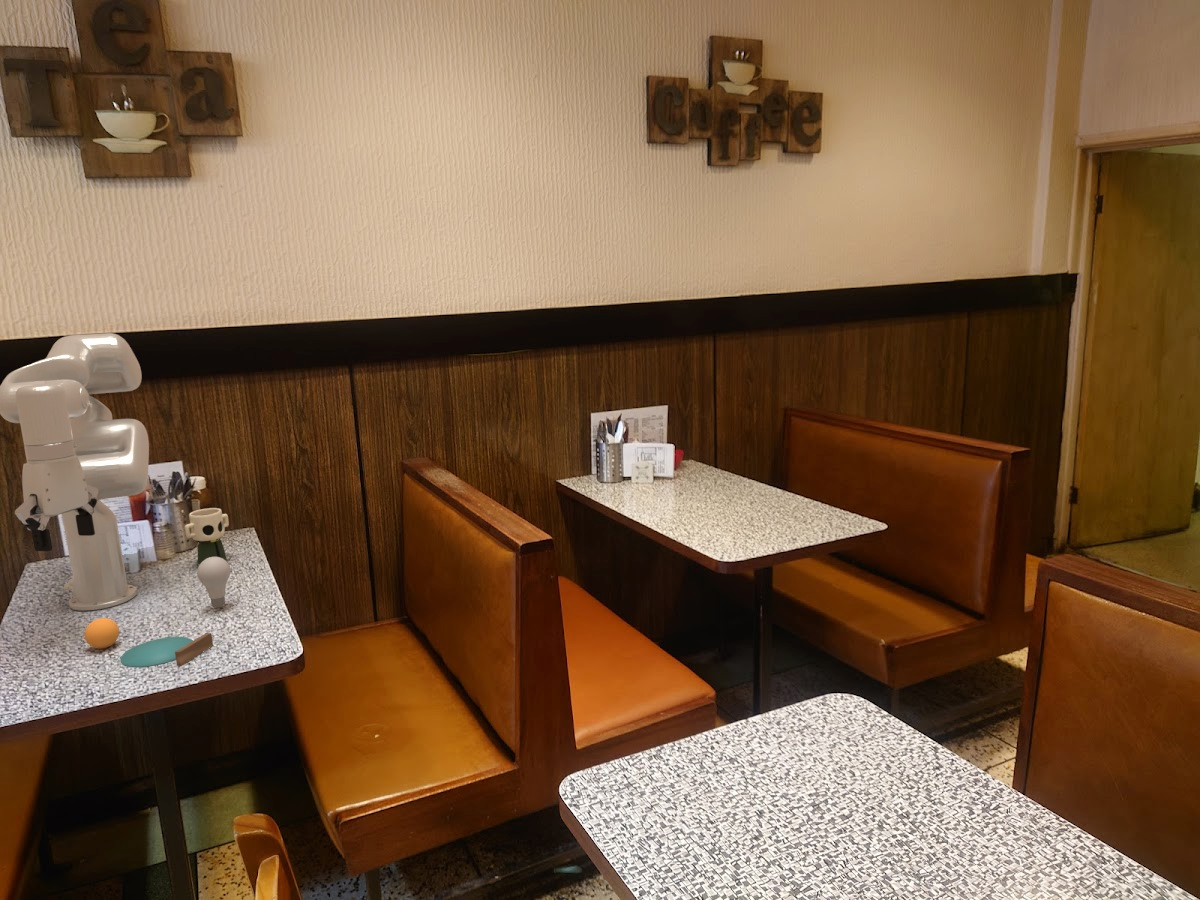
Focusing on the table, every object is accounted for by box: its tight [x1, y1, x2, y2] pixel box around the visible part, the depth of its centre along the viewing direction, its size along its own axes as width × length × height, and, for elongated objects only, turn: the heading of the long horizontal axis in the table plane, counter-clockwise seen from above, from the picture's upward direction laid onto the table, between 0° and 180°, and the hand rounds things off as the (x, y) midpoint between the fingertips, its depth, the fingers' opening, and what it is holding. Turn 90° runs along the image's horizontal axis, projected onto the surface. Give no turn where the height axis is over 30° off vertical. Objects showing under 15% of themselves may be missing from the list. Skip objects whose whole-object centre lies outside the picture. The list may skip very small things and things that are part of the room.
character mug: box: [184, 507, 230, 565], centre depth 198 cm, size 11×7×13 cm, turn 147°
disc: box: [120, 636, 194, 668], centre depth 151 cm, size 12×12×1 cm
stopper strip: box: [175, 632, 214, 666], centre depth 149 cm, size 1×8×2 cm, turn 166°
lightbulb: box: [196, 557, 231, 610], centre depth 170 cm, size 6×6×11 cm
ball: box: [84, 617, 120, 649], centre depth 154 cm, size 6×6×6 cm
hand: (66, 542), depth 154 cm, fingers open, 9 cm apart
